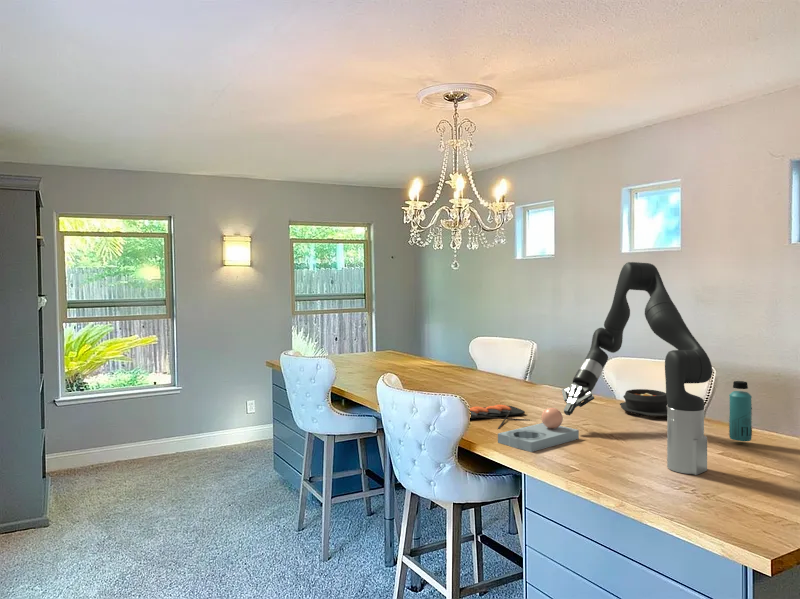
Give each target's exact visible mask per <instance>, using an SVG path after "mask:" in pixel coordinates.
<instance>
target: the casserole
mask: <svg viewBox="0 0 800 599" xmlns="http://www.w3.org/2000/svg"><path fill="white" fill-rule="evenodd" d="M622 397H623V398H624V400H625V402H620V403H619V405H620V408H621V409H622V410H624V411H627V412H629V413H631V414H634V415H637V416H641V415H642V417H667V396H666V391H661V390H656V389H646V388H644V389H643V388H640V389H637V388H634V389H628V390H625V393H624V395H623V396H622Z"/></svg>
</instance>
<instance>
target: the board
mask: <svg viewBox="0 0 800 599" xmlns="http://www.w3.org/2000/svg"><path fill="white" fill-rule="evenodd" d="M579 431H580V430H579V429H575V428H572V427H568V426H562V425H560V426H559V427H557V428H555V429H551V428H548V427H546V426H545V425H544V424H543V422H541V423H537V424H533V425H529V426H525V427H520V428H515V429H511V430H507V431H504V432H503V431H502V432H498V433H497V443H498V444H502V445H505V446H509V447H511V448H514V449H520V450H522V451H527V452H530V453H533V452H537V451H540V450H544V449H547V448H551V447H554V446H558V445H561V444H564V443H565V444H566V443H569V442H572V441H573V442H574V441H576V439H577V440H579V438H580V437H579V435H580V433H579Z"/></svg>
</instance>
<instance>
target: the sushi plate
mask: <svg viewBox="0 0 800 599" xmlns="http://www.w3.org/2000/svg"><path fill="white" fill-rule="evenodd" d="M469 408H470V412H471V419H470V420H476V418H478V419H497V420H498V419H499V420H503V421H502V422H501V423H500V425H499V426H498V427H497V430H498V429H499V430H500V429H501V428H502V427H501V426H503V425H504V423H505V422H506V420H510V421H529V419H527V418H523V419H522V418H512V417H511V418H510V417H509V418H508V416H509V415H510V416H517V415H522V414H523V415H524V414H525V410H523V409H521V408H518V407H515V406H512V405H505V404H495V405H490V406H485V407H484V406H472V407H469ZM498 416H499V417H498ZM500 427H501V428H500Z"/></svg>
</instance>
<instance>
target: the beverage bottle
mask: <svg viewBox="0 0 800 599" xmlns="http://www.w3.org/2000/svg"><path fill="white" fill-rule="evenodd" d="M732 388H733V389H738V390H733V391H732V392H731V393H729V419H728V426H729V427H728V435H729V438H730V439H731V440H733V441H737V442H751V441H752V438H753V425H752V424H753V421H752V420H753V419H752V416H753V406H752V405H753V404H752V399H753V397H752V395H751V394H750V393H749V392H748V391H743V390H747V389H749V387H748V382H747V381H742V380H735V381H733V385H732Z"/></svg>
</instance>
